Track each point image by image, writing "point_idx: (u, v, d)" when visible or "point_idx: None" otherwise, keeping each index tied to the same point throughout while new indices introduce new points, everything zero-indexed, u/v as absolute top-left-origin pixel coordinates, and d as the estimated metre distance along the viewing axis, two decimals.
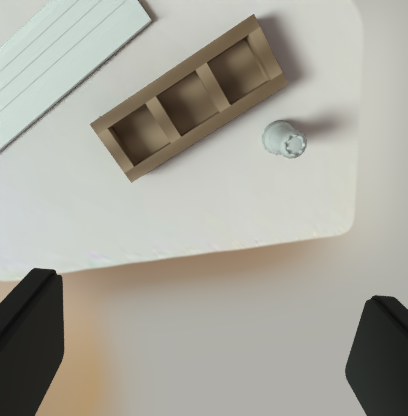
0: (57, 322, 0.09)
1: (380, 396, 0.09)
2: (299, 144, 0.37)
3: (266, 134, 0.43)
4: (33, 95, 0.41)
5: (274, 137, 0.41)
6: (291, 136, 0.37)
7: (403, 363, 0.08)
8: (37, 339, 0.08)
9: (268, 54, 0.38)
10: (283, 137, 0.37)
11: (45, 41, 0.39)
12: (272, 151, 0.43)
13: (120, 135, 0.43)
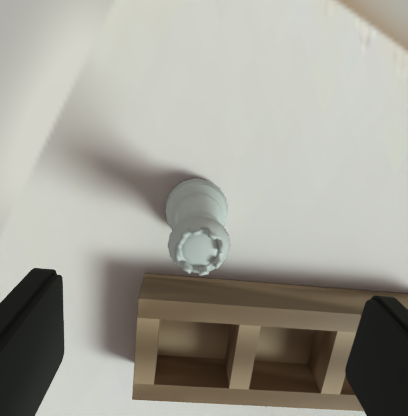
0: (57, 322, 0.09)
1: (380, 396, 0.09)
2: (189, 245, 0.16)
3: None
4: None
5: None
6: (193, 267, 0.17)
7: (403, 363, 0.08)
8: (37, 339, 0.08)
9: (142, 349, 0.23)
10: (207, 271, 0.17)
11: None
12: (223, 205, 0.22)
13: None
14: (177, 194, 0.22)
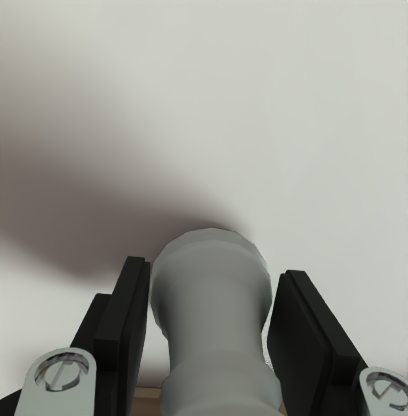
0: (146, 304, 0.10)
1: (283, 358, 0.10)
2: None
3: None
4: None
5: None
6: None
7: (296, 325, 0.09)
8: (141, 316, 0.09)
9: None
10: None
11: None
12: (266, 286, 0.11)
13: None
14: (171, 266, 0.10)
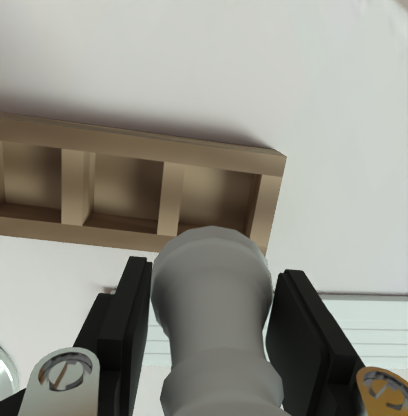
0: (148, 304, 0.10)
1: (281, 357, 0.10)
2: None
3: None
4: None
5: None
6: None
7: (294, 325, 0.09)
8: (144, 316, 0.09)
9: None
10: None
11: None
12: (267, 284, 0.11)
13: (244, 214, 0.28)
14: (172, 264, 0.10)
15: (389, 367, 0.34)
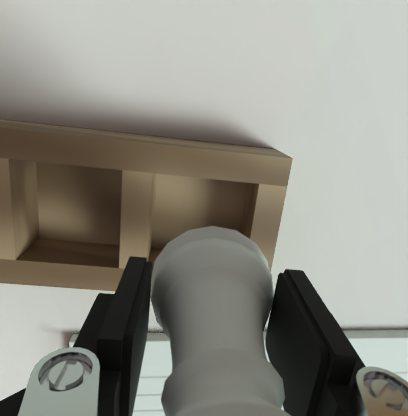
0: (148, 304, 0.10)
1: (281, 357, 0.10)
2: None
3: None
4: None
5: None
6: None
7: (294, 325, 0.09)
8: (144, 315, 0.09)
9: None
10: None
11: None
12: (268, 284, 0.11)
13: None
14: (173, 265, 0.10)
15: None
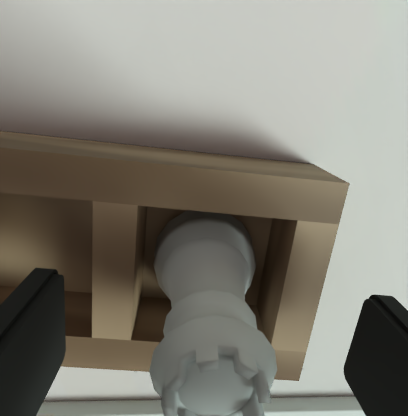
0: (59, 321, 0.09)
1: (378, 395, 0.09)
2: (193, 382, 0.08)
3: None
4: None
5: None
6: None
7: (401, 362, 0.08)
8: (39, 338, 0.08)
9: None
10: None
11: None
12: (250, 255, 0.13)
13: (258, 279, 0.16)
14: (172, 238, 0.13)
15: None
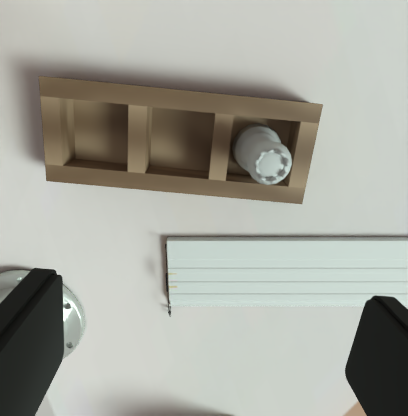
0: (57, 322, 0.09)
1: (380, 396, 0.09)
2: (264, 161, 0.23)
3: None
4: (331, 259, 0.34)
5: None
6: (266, 178, 0.24)
7: (403, 363, 0.08)
8: (37, 339, 0.08)
9: (48, 129, 0.27)
10: None
11: (275, 286, 0.36)
12: (279, 143, 0.29)
13: None
14: (244, 134, 0.28)
15: None
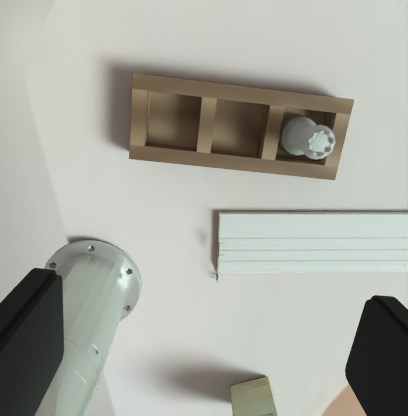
0: (57, 322, 0.09)
1: (380, 396, 0.09)
2: (315, 140, 0.30)
3: None
4: (354, 230, 0.41)
5: None
6: (315, 153, 0.31)
7: (403, 363, 0.08)
8: (37, 339, 0.08)
9: (136, 115, 0.34)
10: (321, 157, 0.31)
11: (307, 254, 0.42)
12: None
13: None
14: (290, 123, 0.36)
15: None
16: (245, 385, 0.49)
